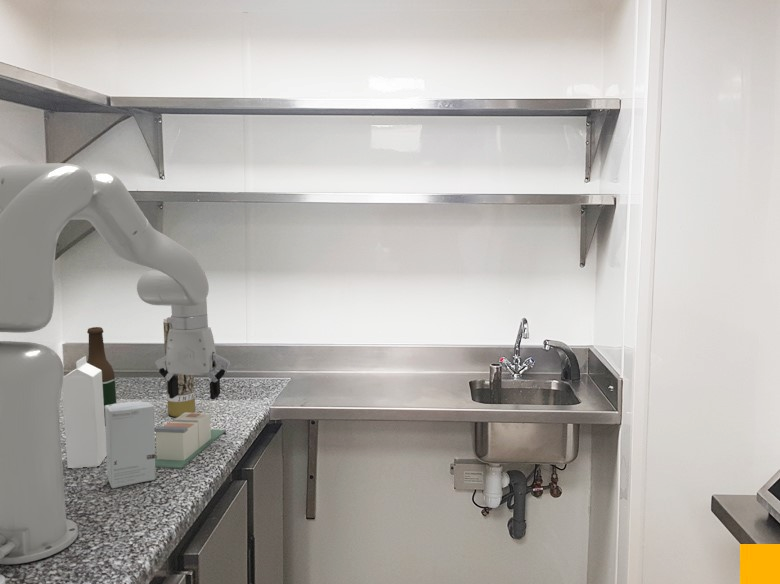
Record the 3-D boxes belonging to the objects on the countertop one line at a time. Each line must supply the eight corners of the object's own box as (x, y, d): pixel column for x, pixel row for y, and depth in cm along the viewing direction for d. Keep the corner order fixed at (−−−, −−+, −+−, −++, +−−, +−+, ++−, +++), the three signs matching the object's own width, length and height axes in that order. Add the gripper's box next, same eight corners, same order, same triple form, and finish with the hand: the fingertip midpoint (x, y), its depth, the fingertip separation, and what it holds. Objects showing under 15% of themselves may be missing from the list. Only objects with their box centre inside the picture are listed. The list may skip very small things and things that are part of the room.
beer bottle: (113, 426, 153) (107, 329, 150) (79, 428, 151) (72, 331, 149) (121, 416, 160) (116, 324, 158) (89, 418, 159) (83, 325, 156)
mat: (180, 468, 126) (180, 467, 126) (143, 466, 127) (143, 465, 127) (225, 431, 148) (225, 430, 148) (194, 430, 149) (193, 428, 149)
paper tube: (162, 416, 161) (157, 320, 158) (180, 408, 167) (175, 316, 164) (183, 418, 158) (179, 321, 155) (200, 411, 164) (196, 317, 162)
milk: (107, 456, 133) (101, 355, 131) (98, 467, 127) (92, 361, 125) (76, 458, 132) (70, 356, 130) (66, 469, 126) (60, 362, 124)
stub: (199, 448, 136) (198, 421, 136) (173, 446, 137) (172, 420, 137) (210, 438, 142) (209, 412, 142) (186, 437, 143) (184, 411, 143)
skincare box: (111, 489, 116) (106, 412, 114) (106, 478, 121) (102, 404, 120) (158, 479, 120) (154, 404, 119) (151, 469, 126) (148, 397, 124)
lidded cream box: (185, 461, 129) (184, 429, 128) (154, 459, 130) (153, 428, 129) (200, 448, 136) (199, 418, 135) (171, 447, 137) (169, 417, 136)
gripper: (144, 325, 136) (149, 401, 138) (220, 326, 133) (224, 403, 136) (161, 319, 143) (166, 391, 145) (233, 320, 141) (237, 393, 143)
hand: (194, 397), depth 140 cm, fingers open, 9 cm apart
